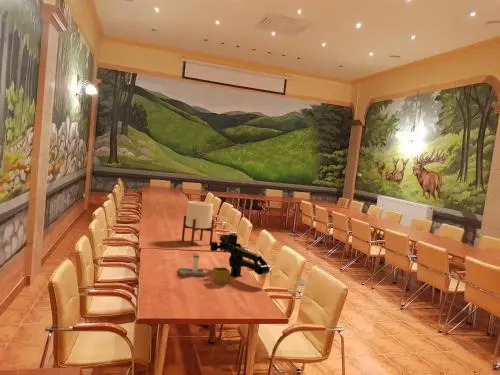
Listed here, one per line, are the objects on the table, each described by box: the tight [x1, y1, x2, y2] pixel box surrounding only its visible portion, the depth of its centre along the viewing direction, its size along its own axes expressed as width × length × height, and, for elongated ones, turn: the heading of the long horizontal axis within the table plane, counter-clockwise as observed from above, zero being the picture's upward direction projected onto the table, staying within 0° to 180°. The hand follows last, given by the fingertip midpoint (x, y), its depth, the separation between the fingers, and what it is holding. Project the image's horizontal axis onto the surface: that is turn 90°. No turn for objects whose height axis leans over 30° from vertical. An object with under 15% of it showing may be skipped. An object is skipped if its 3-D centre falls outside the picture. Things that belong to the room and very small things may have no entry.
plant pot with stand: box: [181, 200, 215, 247], centre depth 375 cm, size 22×22×36 cm
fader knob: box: [191, 253, 200, 272], centre depth 279 cm, size 3×6×11 cm, turn 14°
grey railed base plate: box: [177, 267, 205, 278], centre depth 278 cm, size 16×12×2 cm
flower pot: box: [212, 266, 231, 285], centre depth 264 cm, size 9×9×9 cm
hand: (214, 243), depth 303 cm, fingers open, 9 cm apart
